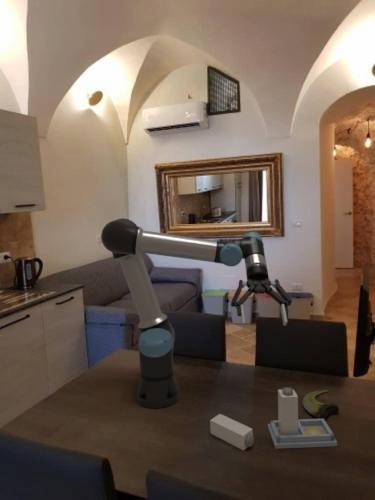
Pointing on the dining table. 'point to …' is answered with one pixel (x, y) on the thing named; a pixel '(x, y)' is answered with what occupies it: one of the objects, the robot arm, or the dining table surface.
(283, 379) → the dining table surface
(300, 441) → the tray
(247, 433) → the white rectangular block
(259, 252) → the robot arm
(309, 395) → the claw
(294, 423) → the white square bottle
